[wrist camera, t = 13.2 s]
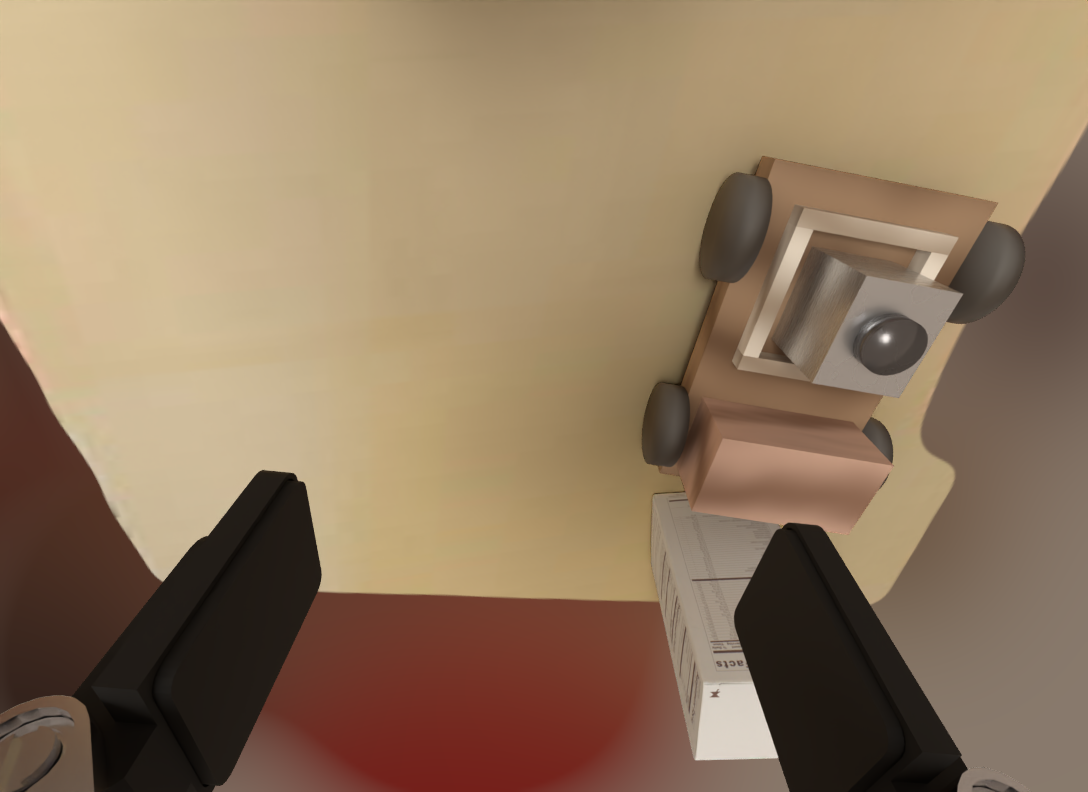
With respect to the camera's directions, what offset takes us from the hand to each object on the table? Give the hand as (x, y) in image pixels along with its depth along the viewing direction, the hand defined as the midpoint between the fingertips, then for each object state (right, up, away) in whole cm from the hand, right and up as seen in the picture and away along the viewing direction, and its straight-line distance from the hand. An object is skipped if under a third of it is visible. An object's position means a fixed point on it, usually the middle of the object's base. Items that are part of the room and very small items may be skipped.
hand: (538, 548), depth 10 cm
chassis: (+17, +7, +26) cm, 32 cm away
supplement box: (+15, -9, +35) cm, 39 cm away
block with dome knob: (+18, +9, +21) cm, 29 cm away
